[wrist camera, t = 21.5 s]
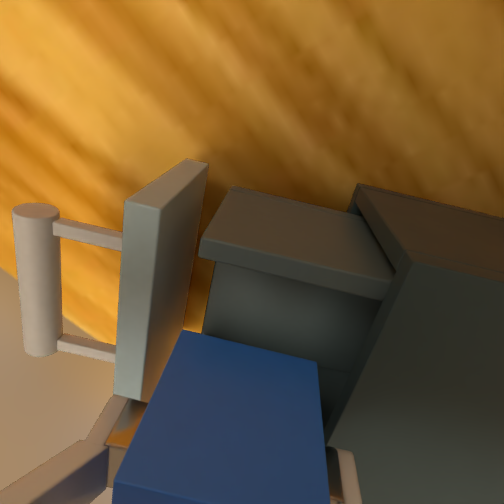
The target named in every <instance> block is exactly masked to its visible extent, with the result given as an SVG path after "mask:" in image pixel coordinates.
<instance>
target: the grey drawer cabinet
mask: <svg viewBox="0 0 504 504" xmlns="http://www.w3.org/2000/svg"><path fill="white" fill-rule="evenodd" d="M347 213H350V214H354V215H359V216H363V217H364V218H365V219H366V221H367V223H368V224H369V226H370V228H371V230H372V231H373V233H374V235H375V236H376V238H377V240H378V241H379V243H380V245H381V247H382V248H383V250H384V252H385V253H386V255H387V257H388V259H389V260H390V262H391V264H392V265H393V267H394V269H395V270H396V273H395V275H394V278H393V280H392V282H391V284H390V286H389V289H388V291H387V293H386V295H385V297H384V300H383V302H382V304H381V306H380V308H379V311H378V313H377V315H376V317H375V319H374V321H373V324H372V326H371V328H370V330H369V332H368V335H367V337H366V339H365V341H364V343H363V346H362V348H361V350H360V352H359V354H358V357H357V359H356V361H355V363H354V365H353V368H352V370H351V372H350V374H349V376H348V379H347V381H346V383H345V385H344V387H343V389H342V392H341V394H340V396H339V398H338V400H337V403H336V405H335V407H334V409H333V411H332V414H331V416H330V418H329V420H328V422H327V425H326V427H325V429H324V431H323V432H324V442H325V445H327V446H332V447H335V448H338V449H342V450H347V451H351V452H352V453H353V455H354V460H355V465H356V471H357V476H358V482H359V487H360V493H361V498H362V504H504V218H501V217H497V216H493V215H489V214H485V213H480V212H476V211H472V210H468V209H464V208H460V207H455V206H451V205H447V204H443V203H439V202H435V201H430V200H426V199H422V198H418V197H414V196H410V195H405V194H401V193H397V192H393V191H389V190H385V189H380V188H376V187H372V186H368V185H364V184H360V183H357V185H356V188H355V190H354V193H353V196H352V199H351V202H350V204H349V207H348V210H347Z"/></svg>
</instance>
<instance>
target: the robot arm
mask: <svg viewBox="0 0 504 504" xmlns="http://www.w3.org/2000/svg"><path fill="white" fill-rule="evenodd" d="M147 405H148V403H147V402H143V401H139V400H136V399H132V398H128V397H124V396H120V395H116V394H114V395H113V396H112V397H111V398H110V399H109V401H108V403H107V404H106V406H105V408H104V409H103V411H102V413H101V414H100V416H99V418H98V419H97V421H96V423H95V425H94V426H93V428H92V430H91V431H90V433H89V435H88V437H87V438H86V440H85V441H83V440H79V441H77V442H76V443H74V444H73V445H71V446H70V447H68V448H66V449H65V450H63V451H62V452H60V453H59V454H57V455H56V456H54V457H52V458H51V459H49V460H48V461H46V462H45V463H43V464H42V465H40V466H38V467H37V468H35V469H34V470H32V471H31V472H29V473H28V474H26V475H25V476H23V477H21V478H20V479H18V480H17V481H15V482H14V483H12V484H10V485H9V486H7V487H6V488H4V489H3V490H1V491H0V504H90V503H91V502H92V501H93V500H94V499H95V498H96V497H97V496H98V495H100V494H101V493H102V492H103V491H104V490H105V489H106V487H110V488H113V482H114V478H115V476H116V473H117V471H118V469H119V467H120V465H121V462H122V460H123V458H124V456H125V454H126V451H127V449H128V447H129V445H130V443H131V440H132V438H133V436H134V434H135V432H136V429H137V427H138V425H139V423H140V421H141V419H142V416H143V414H144V412H145V410H146V408H147ZM325 453H326V463H327V473H328V484H329V494H330V504H362V498H361V493H360V487H359V482H358V476H357V471H356V465H355V460H354V455H353V453H352V452H351V451H347V450H342V449H338V448H335V447H332V446H327V445H325Z"/></svg>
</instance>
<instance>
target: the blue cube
mask: <svg viewBox="0 0 504 504" xmlns="http://www.w3.org/2000/svg"><path fill="white" fill-rule="evenodd" d="M112 504H330V494H329V484H328V473H327V463H326V453H325V442H324V432H323V421H322V411H321V401H320V390H319V380H318V369H317V362H315V361H311V360H307V359H303V358H299V357H294V356H290V355H286V354H282V353H278V352H274V351H270V350H266V349H261V348H257V347H253V346H249V345H245V344H241V343H237V342H233V341H228V340H224V339H220V338H216V337H212V336H208V335H204V334H200V333H196V332H191V331H187V330H182V331H181V333H180V335H179V337H178V339H177V342H176V344H175V346H174V348H173V350H172V353H171V355H170V357H169V359H168V361H167V364H166V366H165V368H164V370H163V372H162V375H161V377H160V379H159V381H158V383H157V386H156V388H155V390H154V392H153V394H152V397H151V399H150V401H149V403H148V405H147V408H146V410H145V412H144V414H143V416H142V419H141V421H140V423H139V425H138V427H137V429H136V432H135V434H134V436H133V438H132V440H131V443H130V445H129V447H128V449H127V451H126V454H125V456H124V458H123V460H122V462H121V465H120V467H119V469H118V471H117V473H116V476H115V478H114V482H113V495H112Z"/></svg>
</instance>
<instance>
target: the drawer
mask: <svg viewBox="0 0 504 504" xmlns="http://www.w3.org/2000/svg"><path fill="white" fill-rule="evenodd" d="M208 168H209V164H208V163H204V162H200V161H196V160H191V159H185V160H183V161H182V162H180V163H179V164H178V165H176V166H175V167H173V168H172V169H170V170H169V171H167V172H166V173H164V174H163V175H161V176H160V177H158V178H157V179H155V180H154V181H153V182H151V183H150V184H148V185H147V186H145V187H144V188H142V189H141V190H139V191H138V192H136V193H135V194H133V195H132V196H131V197H129V198H128V199H126V200H125V201H124V217H123V232H119V231H115V230H111V229H107V228H102V227H98V226H94V225H90V224H86V223H81V222H77V221H73V220H69V219H65V218H60V215H59V210H58V208H56V207H55V206H52V205H49V204H43V203H26V204H21V205H18V206H15V207H14V208H13V209H12V220H13V231H14V242H15V253H16V264H17V275H18V286H19V297H20V308H21V318H22V329H23V340H24V350H25V352H26V353H27V354H29V355H31V356H34V357H44V356H49V355H52V354H54V353H56V352H57V351H58V350H60V351H64V352H69V353H73V354H77V355H81V356H86V357H90V358H94V359H98V360H103V361H107V362H111V363H115V372H114V389H113V395H114V394H116V395H120V396H124V397H128V398H132V399H136V400H139V401H143V402H147V403H149V401H150V399H151V397H152V394H153V392H154V390H155V388H156V386H157V383H158V381H159V379H160V377H161V375H162V372H163V370H164V368H165V366H166V364H167V361H168V359H169V357H170V355H171V353H172V350H173V348H174V346H175V344H176V342H177V339H178V337H179V335H180V333H181V331H182V330H183V323H184V317H185V311H186V305H187V299H188V292H189V286H190V280H191V274H192V268H193V261H194V255H195V249H196V243H197V237H198V230H199V224H200V218H201V212H202V206H203V199H204V193H205V187H206V181H207V175H208ZM60 237H63V238H67V239H71V240H75V241H80V242H84V243H88V244H92V245H96V246H101V247H105V248H109V249H113V250H117V251H121V269H120V286H119V303H118V320H117V337H116V345H112V344H108V343H103V342H99V341H95V340H90V339H87V338H82V337H78V336H74V335H70V334H63V327H62V326H63V325H62V288H61V252H60ZM198 257H200V258H203V259H207V260H212V261H215V265H214V271H213V276H212V281H211V286H210V291H209V297H208V302H207V307H206V312H205V317H204V323H203V328H202V333H201V334H204V335H208V336H212V337H216V338H220V339H224V340H228V341H233V342H237V343H241V344H245V345H249V346H253V347H257V348H261V349H266V350H270V351H274V352H278V353H282V354H286V355H290V356H294V357H299V358H303V359H307V360H311V361H315V362H317V369H318V380H319V390H320V401H321V411H322V421H323V431H324V429H325V427H326V425H327V422H328V420H329V418H330V416H331V414H332V411H333V409H334V407H335V405H336V403H337V400H338V398H339V396H340V394H341V392H342V389H343V387H344V385H345V383H346V381H347V379H348V376H349V374H350V372H351V370H352V368H353V365H354V363H355V361H356V359H357V357H358V354H359V352H360V350H361V348H362V346H363V343H364V341H365V339H366V337H367V335H368V332H369V330H370V328H371V326H372V324H373V321H374V319H375V317H376V315H377V313H378V311H379V308H380V306H381V304H382V302H383V300H384V297H385V295H386V293H387V291H388V289H389V286H390V284H391V282H392V280H393V278H394V275H395V273H396V270H395V269H394V267H393V265H392V264H391V262H390V260H389V259H388V257H387V255H386V253H385V252H384V250H383V248H382V247H381V245H380V243H379V241H378V240H377V238H376V236H375V235H374V233H373V231H372V230H371V228H370V226H369V224H368V223H367V221H366V219H365V218H364V217H363V216H359V215H354V214H350V213H346V212H342V211H338V210H334V209H329V208H325V207H321V206H317V205H313V204H309V203H304V202H300V201H296V200H292V199H288V198H283V197H279V196H275V195H271V194H267V193H263V192H258V191H254V190H250V189H246V188H242V187H237V186H233V185H232V186H231V187H230V189H229V191H228V193H227V194H226V196H225V198H224V199H223V201H222V203H221V204H220V206H219V208H218V210H217V211H216V213H215V215H214V216H213V218H212V220H211V221H210V223H209V225H208V227H207V228H206V230H205V232H204V233H203V235H202V237H201V239H200V245H199V251H198Z"/></svg>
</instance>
